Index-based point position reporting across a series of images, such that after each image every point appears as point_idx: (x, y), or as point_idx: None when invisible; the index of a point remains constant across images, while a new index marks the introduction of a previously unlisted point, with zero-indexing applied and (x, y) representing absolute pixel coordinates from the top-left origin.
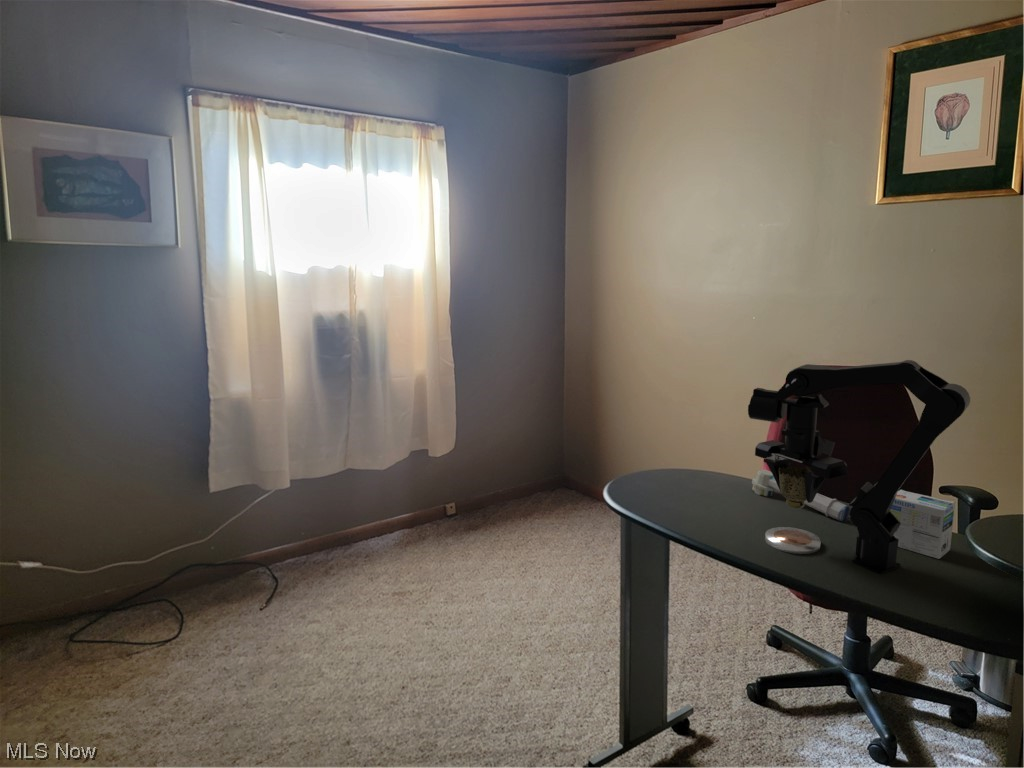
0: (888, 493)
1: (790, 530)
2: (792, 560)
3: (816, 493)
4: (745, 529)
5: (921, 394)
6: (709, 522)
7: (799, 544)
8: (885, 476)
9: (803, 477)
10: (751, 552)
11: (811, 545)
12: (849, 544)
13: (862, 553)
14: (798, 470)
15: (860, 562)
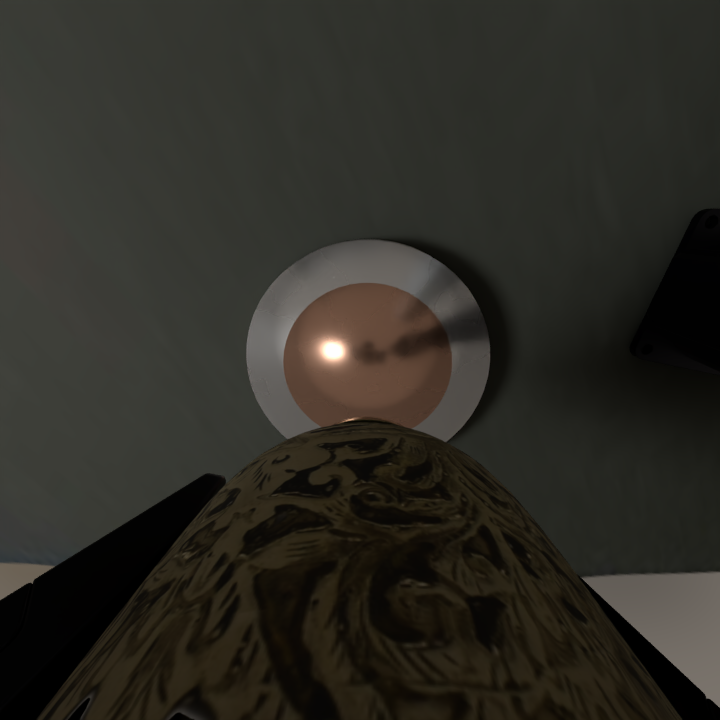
0: None
1: (319, 305)
2: None
3: (617, 615)
4: (162, 380)
5: None
6: (33, 426)
7: (426, 417)
8: None
9: (332, 532)
10: None
11: (467, 384)
12: (575, 162)
13: (714, 365)
14: (162, 690)
15: (676, 360)
